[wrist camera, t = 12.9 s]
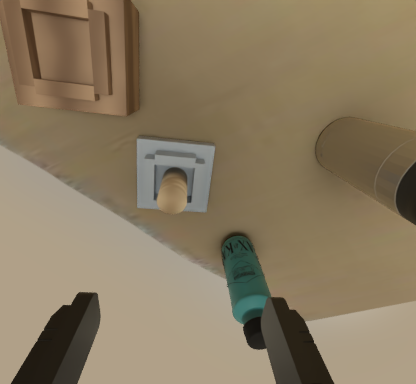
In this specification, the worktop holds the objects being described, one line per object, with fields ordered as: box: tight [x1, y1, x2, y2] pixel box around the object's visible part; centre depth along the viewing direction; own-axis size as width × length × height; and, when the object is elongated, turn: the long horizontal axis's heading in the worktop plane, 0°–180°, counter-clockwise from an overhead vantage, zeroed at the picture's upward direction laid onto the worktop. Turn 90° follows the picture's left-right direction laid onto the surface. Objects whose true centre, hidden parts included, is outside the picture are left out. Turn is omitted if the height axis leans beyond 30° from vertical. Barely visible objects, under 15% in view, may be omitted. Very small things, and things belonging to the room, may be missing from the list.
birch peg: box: [157, 167, 187, 214], centre depth 35 cm, size 4×4×8 cm
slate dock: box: [137, 136, 215, 212], centre depth 38 cm, size 12×12×4 cm
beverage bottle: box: [221, 236, 271, 350], centre depth 38 cm, size 6×7×20 cm
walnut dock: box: [0, 0, 139, 116], centre depth 28 cm, size 12×12×10 cm
